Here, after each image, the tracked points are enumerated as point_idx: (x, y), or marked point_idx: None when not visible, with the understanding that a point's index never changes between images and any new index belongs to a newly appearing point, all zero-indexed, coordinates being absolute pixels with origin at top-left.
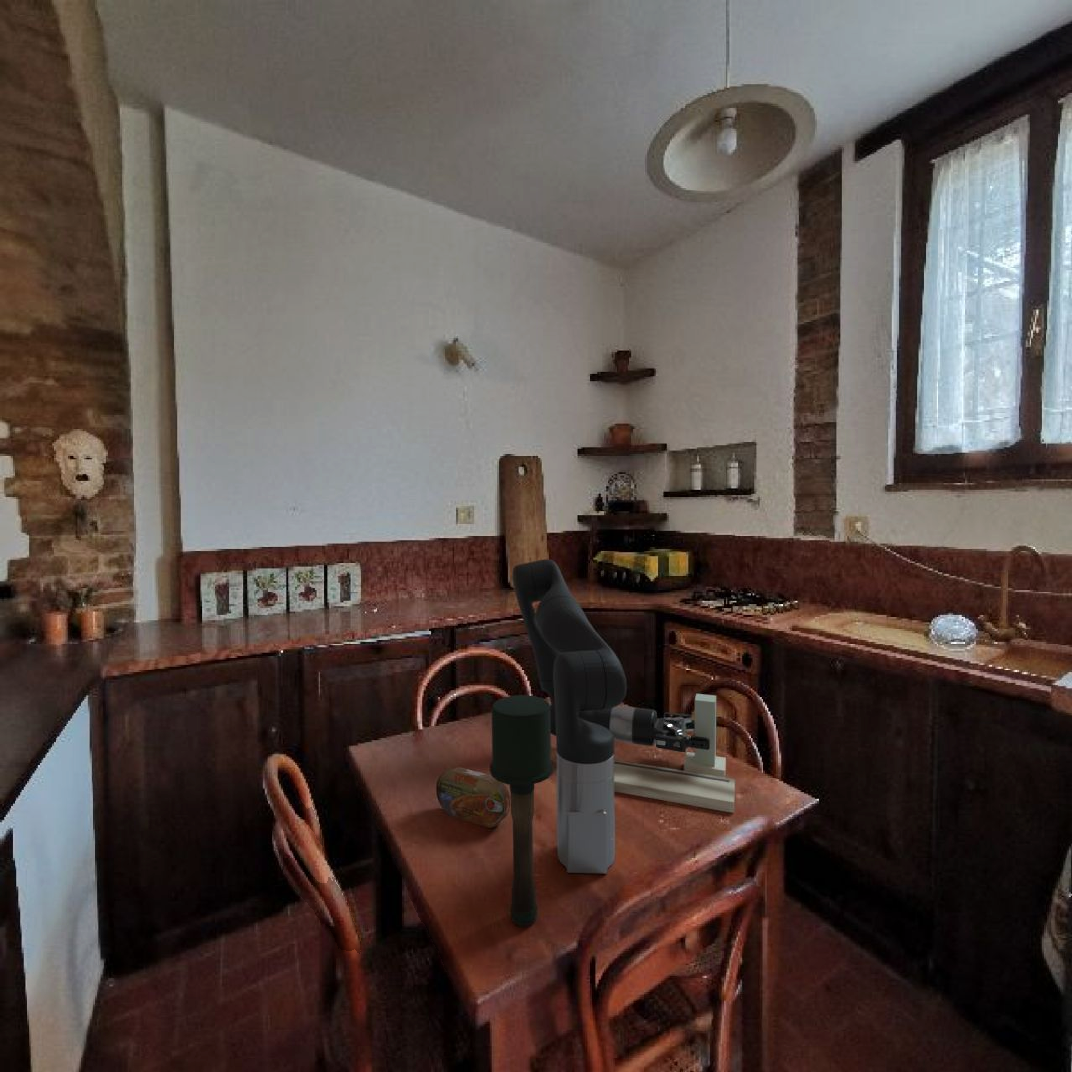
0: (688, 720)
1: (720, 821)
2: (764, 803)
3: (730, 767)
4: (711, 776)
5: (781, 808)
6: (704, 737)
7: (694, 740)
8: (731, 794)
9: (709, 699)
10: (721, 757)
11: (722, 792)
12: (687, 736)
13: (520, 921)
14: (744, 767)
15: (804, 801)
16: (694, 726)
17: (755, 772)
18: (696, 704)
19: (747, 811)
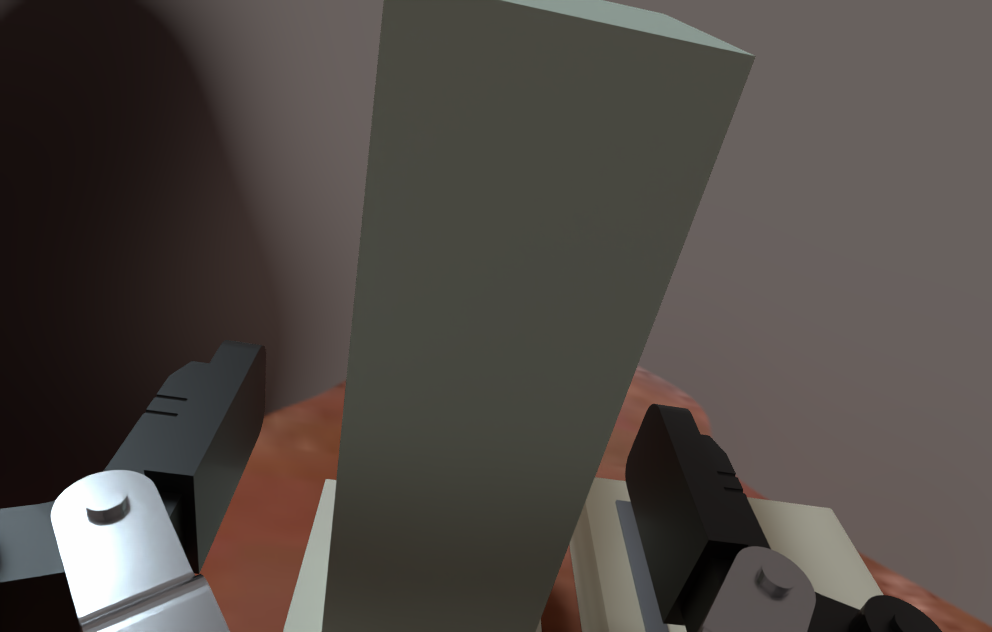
0: (177, 542)
1: (928, 612)
2: (633, 429)
3: (291, 509)
4: (619, 595)
5: (636, 390)
6: (668, 427)
7: (751, 524)
8: (764, 510)
9: (603, 4)
10: (326, 503)
11: (779, 549)
12: (782, 572)
13: None
14: (282, 444)
15: None
16: (194, 529)
17: (338, 411)
18: (714, 131)
19: (745, 494)
